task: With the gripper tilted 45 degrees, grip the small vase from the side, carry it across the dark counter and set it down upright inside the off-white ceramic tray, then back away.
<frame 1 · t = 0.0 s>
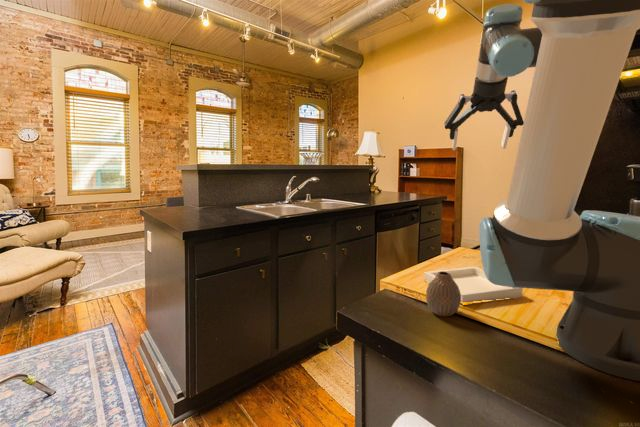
hand: (478, 146, 97), 36 cm above the counter, tool tilted 35°, fingers open, 13 cm apart
tray: (469, 288, 81), on the counter
vase: (442, 313, 69), on the counter
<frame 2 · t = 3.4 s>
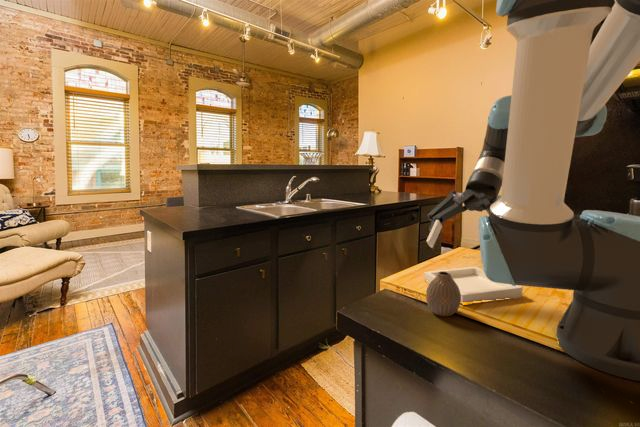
hand: (456, 249, 73), 12 cm above the counter, tool tilted 45°, fingers open, 13 cm apart
nothing on the counter moved.
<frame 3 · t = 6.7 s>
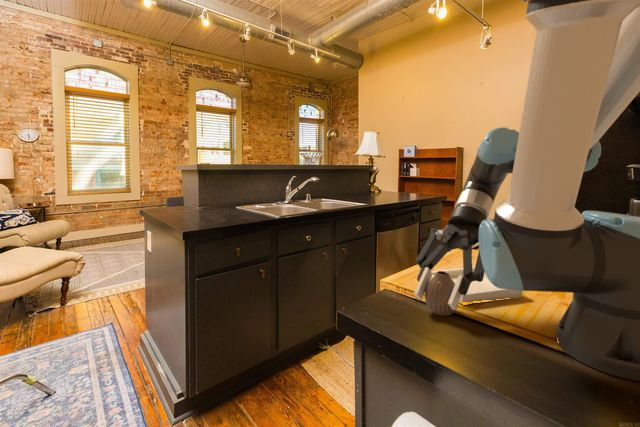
hand: (434, 301, 67), 3 cm above the counter, tool tilted 45°, fingers closed on vase, 7 cm apart
vase: (441, 312, 69), on the counter, touching gripper
everything else where it was.
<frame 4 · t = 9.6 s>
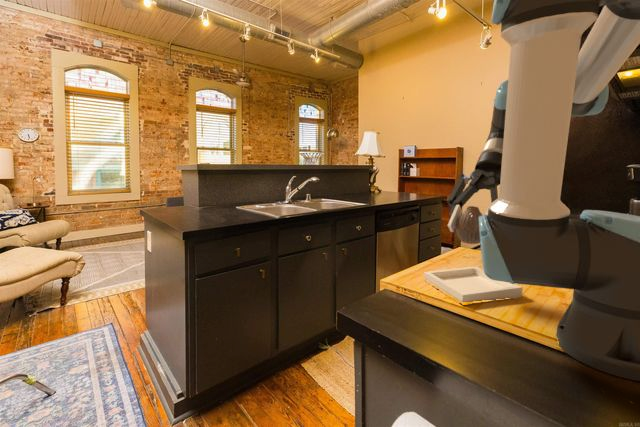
hand: (465, 230, 76), 16 cm above the counter, tool tilted 45°, fingers closed on vase, 7 cm apart
vase: (470, 242, 79), point 12 cm above the counter, touching gripper
everything else where it was.
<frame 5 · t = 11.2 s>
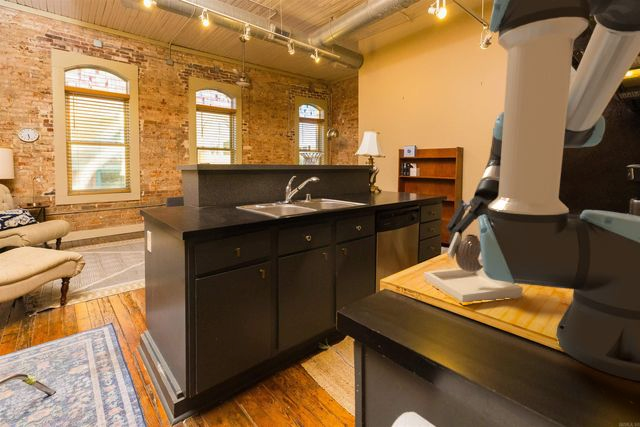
hand: (464, 259, 78), 8 cm above the counter, tool tilted 45°, fingers closed on vase, 7 cm apart
vase: (469, 270, 81), point 5 cm above the counter, touching gripper
everything else where it was.
when the fingers open (6 cm above the counter, at t = 12.7 s): vase drops 1 cm, resting on tray.
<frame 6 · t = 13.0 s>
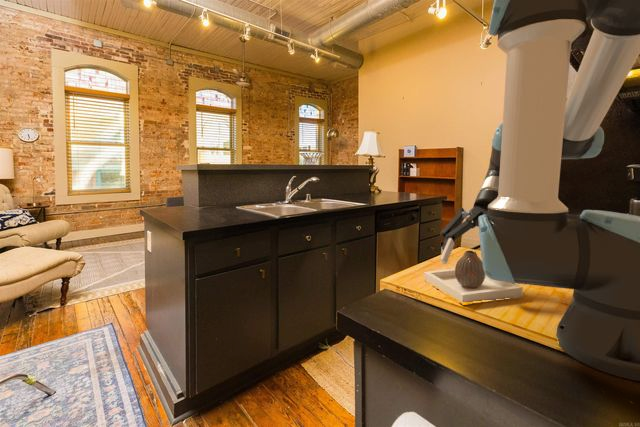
hand: (465, 266, 78), 6 cm above the counter, tool tilted 45°, fingers open, 11 cm apart
vase: (469, 286, 81), point 1 cm above the counter, touching tray
everything else where it was.
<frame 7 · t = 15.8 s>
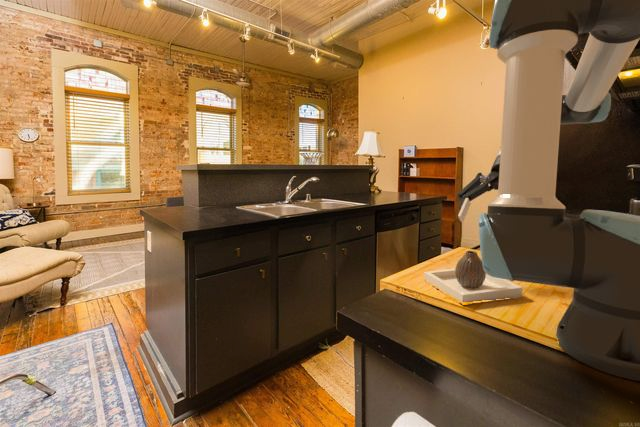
hand: (486, 221, 85), 16 cm above the counter, tool tilted 45°, fingers open, 13 cm apart
nothing on the counter moved.
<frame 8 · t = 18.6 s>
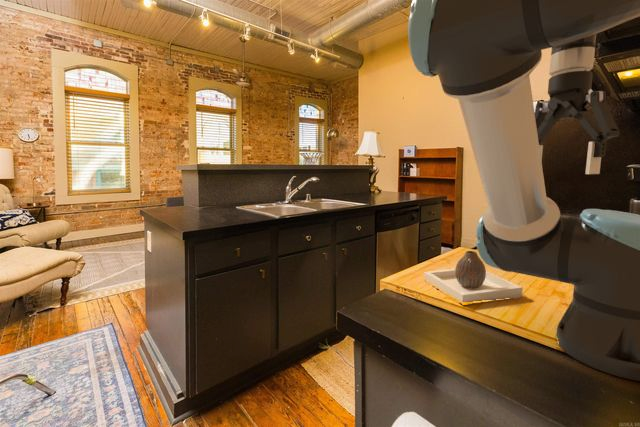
hand: (561, 173, 73), 29 cm above the counter, tool pointing down, fingers open, 13 cm apart
nothing on the counter moved.
at the end: vase inside the target area on the tray (0.2 cm from its centre), point 0.6 cm above the tray's base; vase tilted 0°; the gripper is holding nothing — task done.
